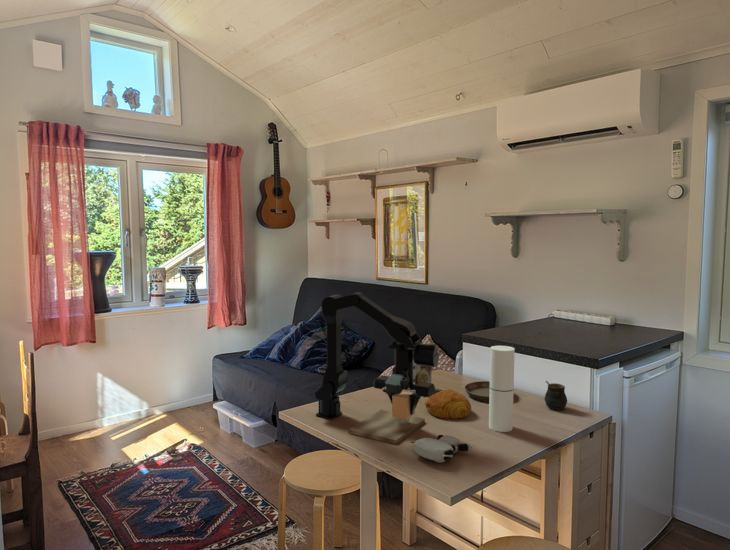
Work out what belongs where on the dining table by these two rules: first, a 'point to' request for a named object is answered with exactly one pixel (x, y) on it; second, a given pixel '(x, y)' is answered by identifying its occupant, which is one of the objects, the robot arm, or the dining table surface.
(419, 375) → the coffee box
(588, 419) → the dining table surface
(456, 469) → the dining table surface
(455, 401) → the croissant
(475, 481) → the dining table surface
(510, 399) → the cylindrical container
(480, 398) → the plant saucer
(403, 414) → the orange rectangular block
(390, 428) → the base board
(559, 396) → the mate gourd
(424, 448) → the robot toy
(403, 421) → the post
